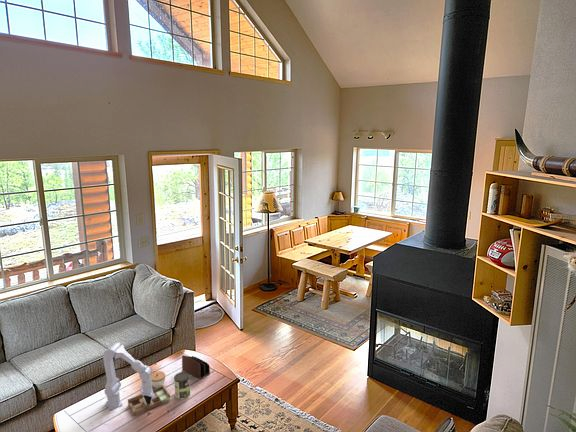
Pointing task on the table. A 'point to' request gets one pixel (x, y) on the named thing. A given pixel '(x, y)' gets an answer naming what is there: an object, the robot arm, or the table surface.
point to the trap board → (141, 407)
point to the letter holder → (195, 367)
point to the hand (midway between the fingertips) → (148, 403)
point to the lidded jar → (157, 379)
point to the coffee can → (182, 385)
